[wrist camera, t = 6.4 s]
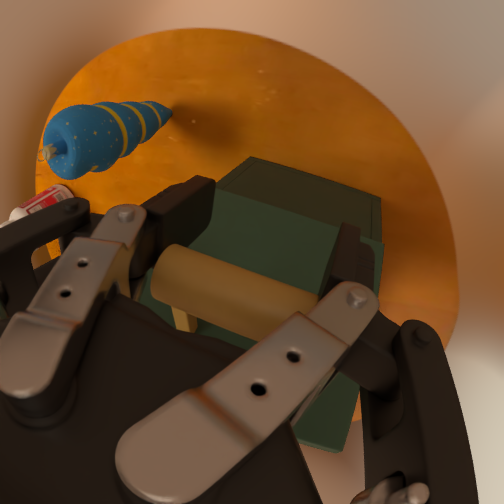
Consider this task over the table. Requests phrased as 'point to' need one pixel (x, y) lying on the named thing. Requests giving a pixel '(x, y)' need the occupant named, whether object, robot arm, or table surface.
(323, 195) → the chest
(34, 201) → the pill bottle
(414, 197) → the table surface
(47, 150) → the ornament
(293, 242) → the lid
